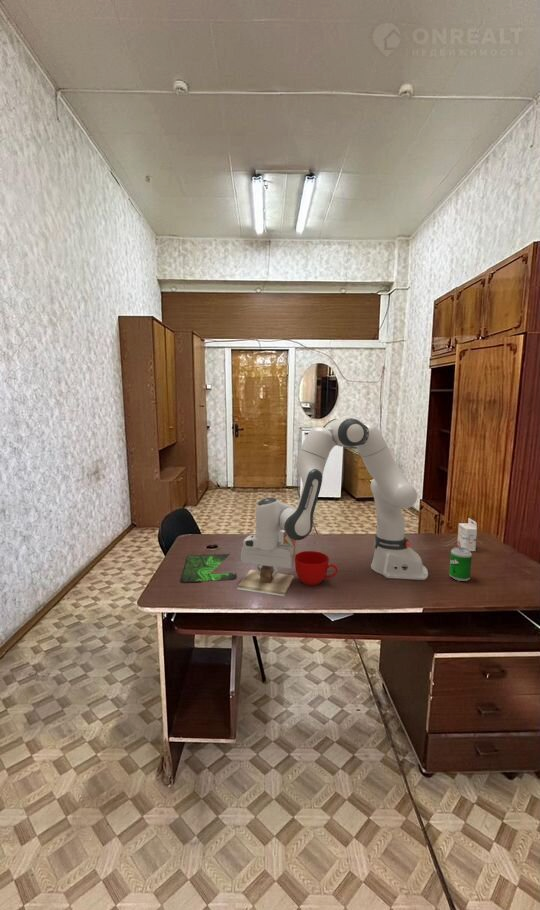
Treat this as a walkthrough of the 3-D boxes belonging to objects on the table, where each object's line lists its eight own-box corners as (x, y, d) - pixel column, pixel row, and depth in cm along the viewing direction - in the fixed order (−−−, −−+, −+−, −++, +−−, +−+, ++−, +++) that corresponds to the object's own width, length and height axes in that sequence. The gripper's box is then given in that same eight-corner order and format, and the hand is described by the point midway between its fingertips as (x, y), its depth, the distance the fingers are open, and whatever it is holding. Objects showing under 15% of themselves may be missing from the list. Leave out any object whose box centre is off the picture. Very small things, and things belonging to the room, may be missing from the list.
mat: (294, 577, 150) (294, 576, 150) (284, 597, 135) (284, 596, 135) (251, 571, 155) (251, 570, 155) (237, 589, 140) (237, 588, 140)
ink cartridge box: (456, 546, 186) (458, 517, 184) (466, 546, 186) (468, 517, 184) (464, 552, 178) (467, 522, 176) (475, 553, 178) (478, 522, 176)
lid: (293, 577, 149) (293, 563, 149) (285, 594, 136) (285, 578, 135) (250, 571, 154) (250, 557, 154) (238, 587, 141) (238, 572, 140)
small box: (283, 560, 167) (283, 532, 165) (273, 556, 172) (273, 528, 170) (295, 555, 173) (296, 528, 171) (285, 551, 177) (286, 524, 175)
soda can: (468, 576, 153) (470, 547, 152) (471, 584, 146) (473, 554, 145) (447, 573, 156) (449, 545, 154) (450, 581, 149) (452, 551, 147)
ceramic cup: (330, 596, 136) (331, 569, 135) (288, 584, 145) (289, 559, 143) (342, 581, 148) (343, 557, 146) (302, 572, 156) (303, 548, 154)
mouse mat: (186, 556, 172) (186, 554, 172) (235, 554, 174) (235, 552, 174) (179, 584, 145) (179, 581, 145) (237, 581, 147) (237, 579, 147)
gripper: (295, 541, 143) (295, 575, 145) (244, 535, 149) (244, 569, 151) (292, 547, 137) (291, 583, 139) (239, 541, 143) (239, 575, 145)
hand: (266, 575), depth 145 cm, fingers closed on lid, 4 cm apart
